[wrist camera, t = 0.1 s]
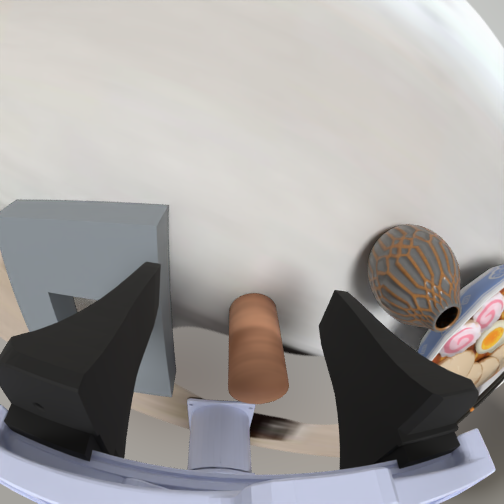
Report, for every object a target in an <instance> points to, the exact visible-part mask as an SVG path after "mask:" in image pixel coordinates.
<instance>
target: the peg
mask: <svg viewBox="0 0 504 504" xmlns="http://www.w3.org/2000/svg"><path fill="white" fill-rule="evenodd" d="M228 378H229V379H228V389H229V393H230V395H231V396H232V397H233V398H235V399H236V400H238V401H240V402H244V403H248V404H263V403H268V402H272V401H275V400H277V399H279V398H281V397H282V396H283V395H284V394H286V392H287V391H288V388H289V383H288V377H287V370H286V364H285V358H284V352H283V346H282V340H281V334H280V328H279V322H278V316H277V310H276V306H275V303H274V302H273V301H272V300H271V299H270V298H269V297H267V296H265V295H262V294H257V293H251V294H245V295H243V296H240V297H239V298H237V299H236V300H235V301H234V302H233V303H232V304H231V306H230V310H229V372H228Z"/></svg>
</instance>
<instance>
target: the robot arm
mask: <svg viewBox="0 0 504 504" xmlns="http://www.w3.org/2000/svg"><path fill="white" fill-rule="evenodd" d="M160 272H161V264H158V263H152V262H145V263H143V264H142V265H141V266H140V267H139V268H138V269H137V270H135V271H134V272H133V273H132V274H131V275H130V276H129V277H127V278H126V279H125V280H124V281H123V282H121V283H120V284H119V285H118V286H117V287H115V288H114V289H113V290H111V291H110V292H109V293H107V294H106V295H105V296H103V297H102V298H101V299H99V300H98V301H96V302H95V303H93V304H92V305H90V306H88V307H87V308H85V309H83V310H81V311H80V312H78V313H76V314H74V315H72V316H70V317H67V318H65V319H63V320H61V321H59V322H57V323H54V324H52V325H49V326H47V327H44V328H41V329H38V330H35V331H32V332H28V333H24V334H21V335H17V336H13V337H11V339H10V340H9V341H8V343H7V344H6V346H5V348H4V349H3V351H2V353H1V354H0V387H1V388H2V390H3V391H4V393H5V394H6V396H7V397H8V399H9V400H10V402H11V403H12V404H11V406H10V408H9V411H8V410H7V409H6V408H5V407H3V406H2V405H0V484H2V485H4V486H5V487H7V488H9V489H11V490H13V491H14V492H16V493H18V494H20V495H22V496H24V497H26V498H28V499H30V500H32V501H34V502H36V503H39V504H439V503H441V502H444V501H446V500H448V499H450V498H452V497H454V496H456V495H458V494H459V493H461V492H463V491H465V490H467V489H468V488H470V487H471V486H473V485H475V484H476V483H478V482H479V481H481V480H483V479H484V478H486V477H487V476H489V475H490V474H492V473H493V472H494V471H495V467H494V464H493V462H492V460H491V457H490V455H489V452H488V451H487V448H486V446H485V443H484V441H483V439H482V436H481V435H480V432H479V430H478V429H473V430H471V431H468V432H465V433H463V434H461V435H459V436H458V437H457V436H456V434H455V431H457V430H458V426H457V423H456V422H457V421H458V420H459V419H460V418H461V417H462V416H463V415H464V414H465V413H466V412H467V411H468V410H469V409H470V408H471V407H472V406H473V405H474V404H475V402H476V401H477V399H478V396H479V392H478V390H477V388H476V386H475V385H474V383H473V381H472V380H471V379H469V378H466V377H464V376H461V375H459V374H456V373H454V372H451V371H449V370H447V369H445V368H443V367H441V366H439V365H438V364H436V363H434V362H432V361H430V360H429V359H427V358H426V357H424V356H422V355H421V354H419V353H418V352H416V351H415V350H413V349H412V348H411V347H409V346H408V345H407V344H405V343H404V342H403V341H401V340H400V339H399V338H398V337H396V336H395V335H394V334H393V333H392V332H391V331H390V330H388V329H387V328H386V327H385V326H384V325H383V324H382V323H381V322H380V321H378V320H377V319H376V318H375V317H374V316H373V315H372V314H371V313H370V312H369V311H368V310H367V309H366V308H365V307H364V306H363V305H362V304H361V303H360V302H359V301H358V300H356V299H355V298H354V297H353V296H352V295H351V294H349V293H348V292H345V291H338V290H334V293H333V295H332V297H331V300H330V302H329V304H328V306H327V309H326V311H325V313H324V315H323V318H322V320H321V322H320V324H319V331H320V339H321V345H322V349H323V353H324V357H325V360H326V363H327V367H328V371H329V374H330V378H331V381H332V385H333V389H334V393H335V397H336V398H335V399H336V406H337V412H338V423H339V437H340V470H334V471H325V472H314V473H302V474H278V475H255V473H252V470H251V451H250V432H249V428H250V425H251V421H252V417H253V413H254V409H255V404H248V403H244V402H240V401H219V400H206V399H194V398H189V399H188V400H187V406H188V416H189V426H190V441H189V443H190V444H189V456H188V470H184V469H176V468H170V467H164V466H157V465H152V464H147V463H142V462H137V461H133V460H128V459H124V455H125V445H126V436H127V429H128V422H129V415H130V409H131V403H132V397H133V392H134V387H135V382H136V378H137V374H138V370H139V367H140V364H141V361H142V358H143V355H144V353H145V350H146V347H147V344H148V341H149V339H150V336H151V333H152V330H153V327H154V324H155V320H156V316H157V311H158V307H159V294H160Z"/></svg>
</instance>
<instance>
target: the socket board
mask: <svg viewBox="0 0 504 504" xmlns="http://www.w3.org/2000/svg"><path fill="white" fill-rule="evenodd" d="M0 250H1V253H2V257H3V260H4V264H5V267H6V270H7V273H8V277H9V280H10V283H11V286H12V288H13V291H14V294H15V297H16V300H17V302H18V305H19V307H20V310H21V312H22V315H23V317H24V320H25V322H26V325H27V327H28V329H29V331H30V332H32V331H35V330H38V329H41V328H44V327H47V326H49V325H52V324H54V323H57V322H59V321H61V320H63V319H65V318H67V317H70V316H72V315H74V314H76V313H77V310H76V307H75V303H74V300H73V296H74V297H81V298H87V299H94V300H99V299H101V298H102V297H103V296H105V295H106V294H107V293H109V292H110V291H111V290H113V289H114V288H115V287H117V286H118V285H119V284H120V283H121V282H123V281H124V280H125V279H126V278H127V277H129V276H130V275H131V274H132V273H133V272H134V271H135V270H137V269H138V268H139V267H140V266H141V265H142V264H143V263H145V262H152V263H158V264H161V272H160V294H159V307H158V311H157V316H156V320H155V324H154V327H153V330H152V333H151V336H150V339H149V341H148V344H147V347H146V350H145V353H144V355H143V358H142V361H141V364H140V367H139V370H138V374H137V378H136V382H135V387H134V392H138V393H144V394H151V395H158V396H166V397H172V393H173V387H174V380H175V374H176V365H175V354H174V343H173V332H172V331H173V330H172V316H171V299H170V277H169V236H168V205H159V204H142V203H122V202H99V201H69V200H16V201H14V202H13V203H11V204H10V205H8V206H7V207H5V208H4V209H3V210H1V211H0Z"/></svg>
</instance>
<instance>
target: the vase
mask: <svg viewBox="0 0 504 504" xmlns="http://www.w3.org/2000/svg"><path fill="white" fill-rule="evenodd" d="M368 278H369V283H370V287H371V289H372V292H373V294H374V296H375V298H376V300H377V301H378V303H379V304H380V306H381V307H382V308H383V309H384V310H385V311H386V312H387V313H388V314H389V315H390V316H391V317H393V318H394V319H396V320H397V321H399V322H401V323H404V324H407V325H411V326H418V327H426V328H428V329H430V330H432V331H434V332H438V333H439V332H444V331H446V330H448V329H449V328H451V327H452V326H453V325H454V324H455V323H456V322H457V321H458V319H459V317H460V315H461V312H462V307H461V303H460V282H461V277H460V269H459V265H458V262H457V260H456V258H455V255H454V253H453V252H452V250H451V248H450V247H449V246H448V244H447V243H446V242H445V241H444V240H443V239H442V238H441V237H440V236H438V235H437V234H436V233H434V232H433V231H431V230H429V229H427V228H425V227H422V226H418V225H410V224H406V225H400V226H397V227H394V228H392V229H390V230H388V231H387V232H385V233H384V234H383V235H382V236H381V237H380V238H379V239H378V240H377V242H376V243H375V245H374V246H373V248H372V251H371V253H370V256H369V260H368Z"/></svg>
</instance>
